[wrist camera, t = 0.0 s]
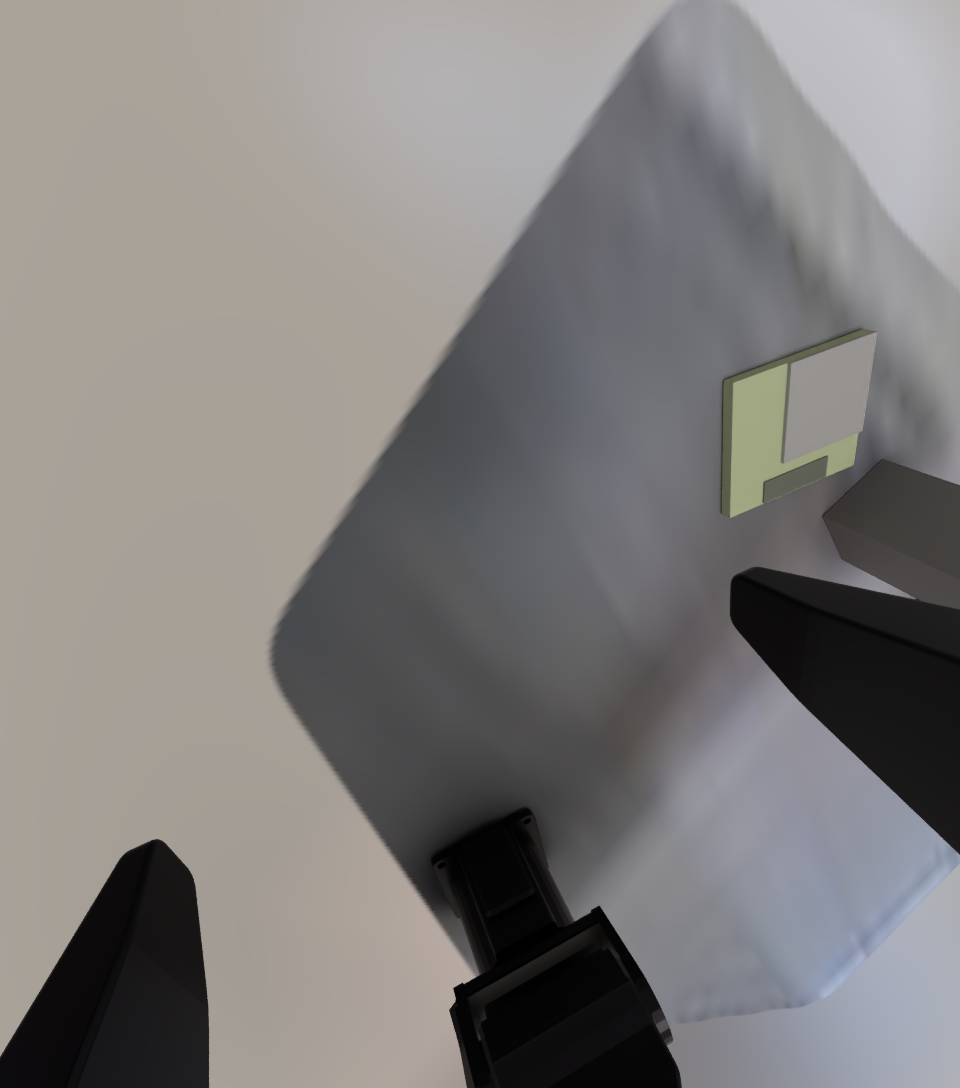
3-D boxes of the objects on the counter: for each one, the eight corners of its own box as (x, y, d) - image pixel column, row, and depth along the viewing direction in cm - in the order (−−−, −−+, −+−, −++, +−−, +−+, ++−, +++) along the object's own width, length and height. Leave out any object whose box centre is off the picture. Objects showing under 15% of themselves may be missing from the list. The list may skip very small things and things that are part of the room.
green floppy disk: (843, 461, 31) (856, 466, 30) (721, 513, 30) (732, 519, 29) (861, 329, 27) (877, 331, 27) (723, 380, 26) (736, 383, 25)
